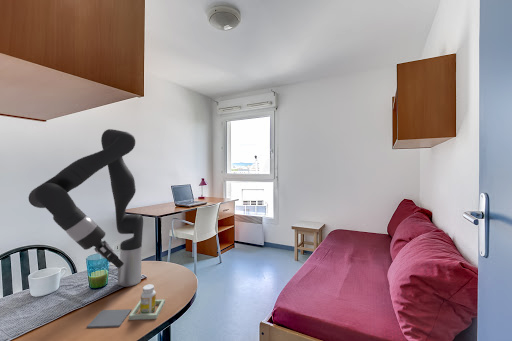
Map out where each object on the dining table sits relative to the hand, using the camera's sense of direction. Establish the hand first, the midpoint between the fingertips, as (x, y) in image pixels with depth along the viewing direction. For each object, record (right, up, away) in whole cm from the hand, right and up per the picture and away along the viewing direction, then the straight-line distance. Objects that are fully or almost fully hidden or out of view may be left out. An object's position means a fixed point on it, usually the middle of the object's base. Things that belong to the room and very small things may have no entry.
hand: (118, 262), depth 82 cm
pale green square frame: (+8, -22, +6) cm, 24 cm away
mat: (-4, -21, +1) cm, 22 cm away
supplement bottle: (+8, -22, +6) cm, 24 cm away
